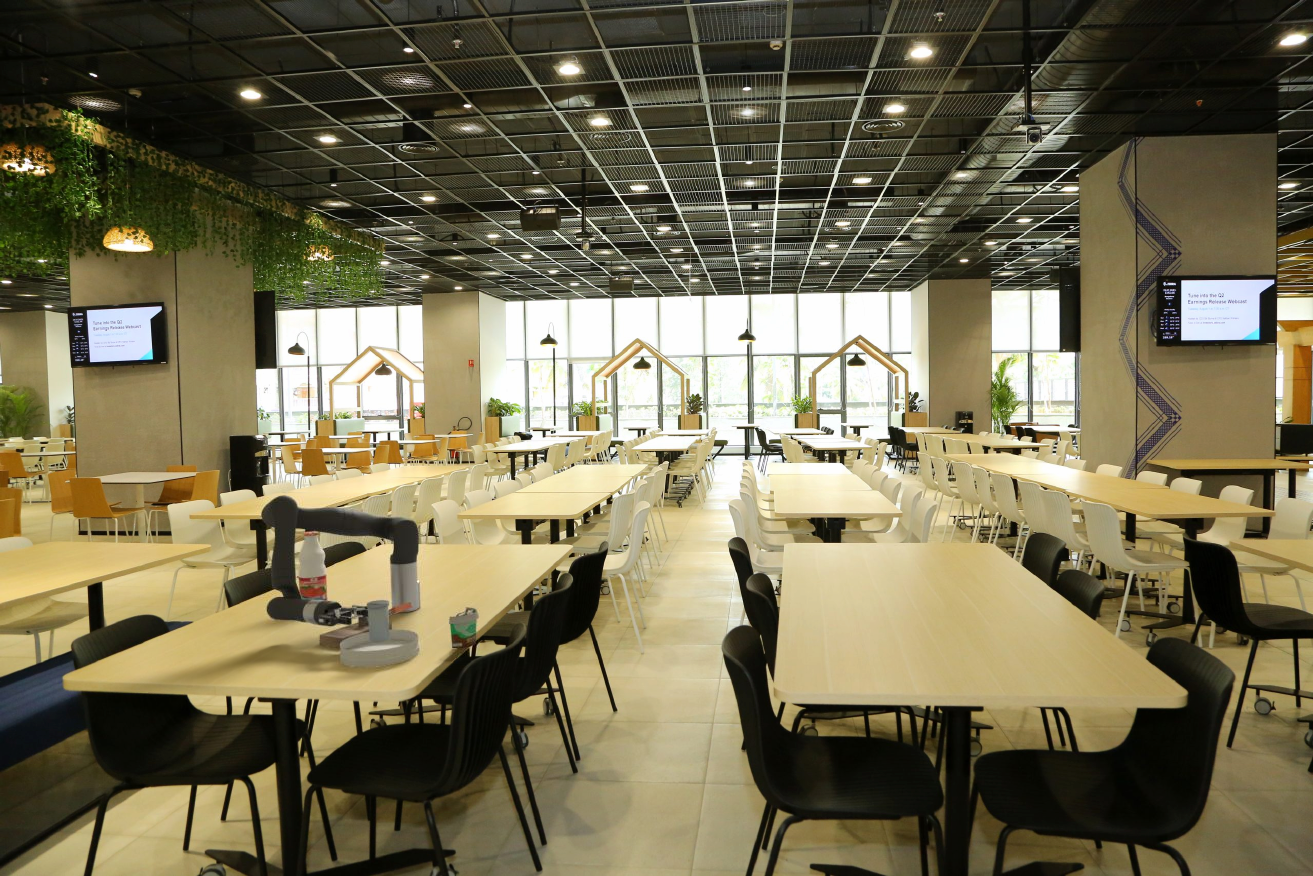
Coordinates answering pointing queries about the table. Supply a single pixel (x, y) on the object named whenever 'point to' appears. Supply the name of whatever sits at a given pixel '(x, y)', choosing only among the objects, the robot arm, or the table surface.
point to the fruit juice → (312, 569)
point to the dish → (379, 649)
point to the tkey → (397, 609)
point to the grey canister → (378, 620)
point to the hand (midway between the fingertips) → (362, 617)
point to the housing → (346, 632)
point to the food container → (464, 628)
